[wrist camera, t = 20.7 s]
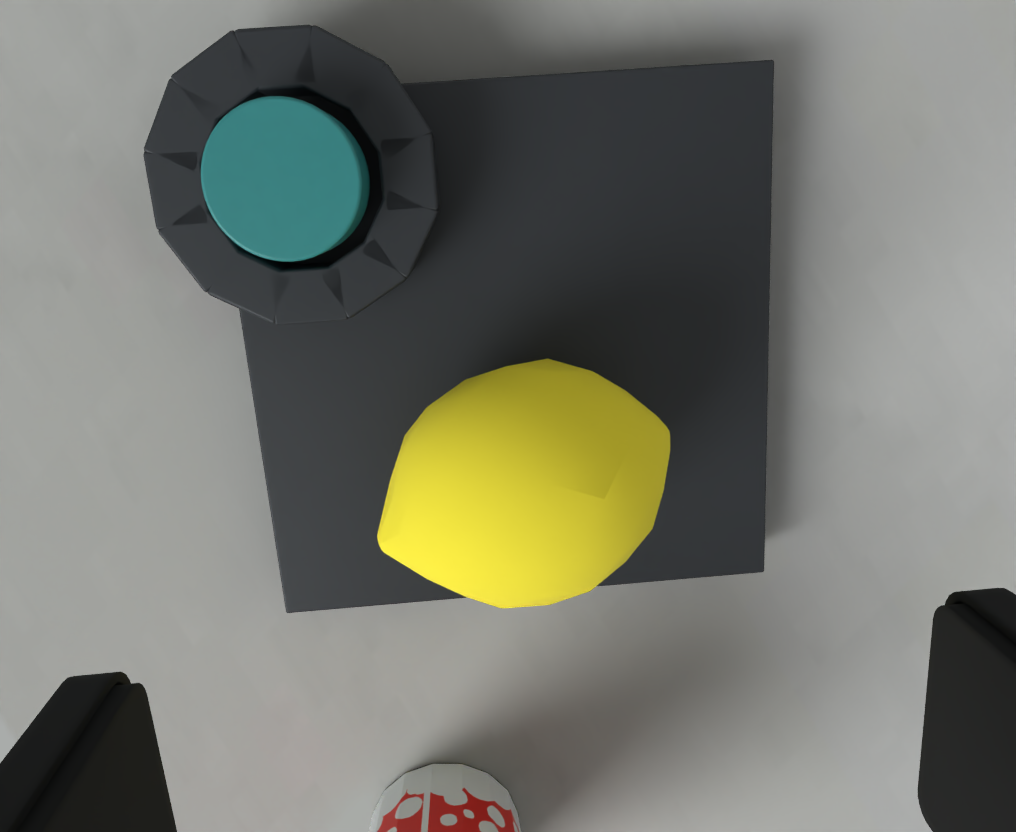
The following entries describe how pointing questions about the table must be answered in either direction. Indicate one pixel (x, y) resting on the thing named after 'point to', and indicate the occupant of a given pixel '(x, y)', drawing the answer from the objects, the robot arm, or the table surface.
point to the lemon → (525, 485)
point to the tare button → (284, 178)
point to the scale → (494, 284)
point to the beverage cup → (445, 802)
